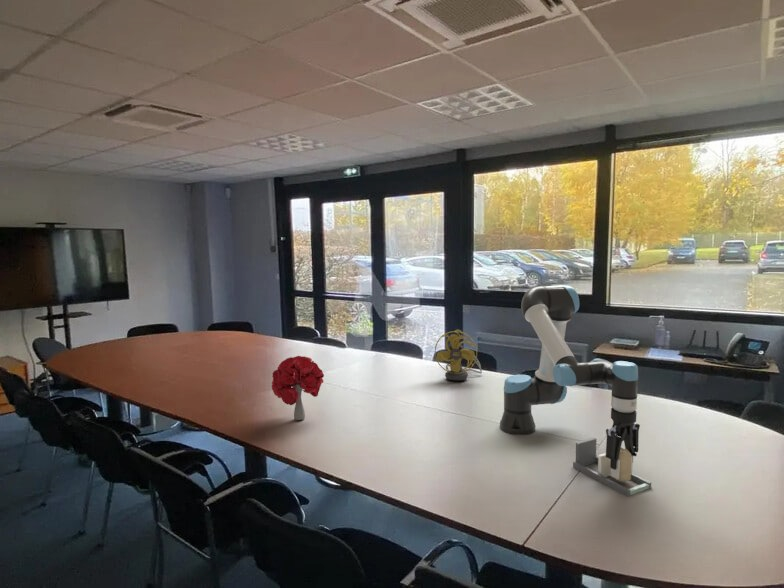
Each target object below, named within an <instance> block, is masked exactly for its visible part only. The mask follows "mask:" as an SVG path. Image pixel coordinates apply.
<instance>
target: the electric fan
mask: <svg viewBox="0 0 784 588" xmlns="http://www.w3.org/2000/svg"><path fill="white" fill-rule="evenodd" d="M450 333H452V334H450ZM454 333H456V334H454ZM449 334H450V335H449ZM460 334H461V335H460ZM444 337H445V338H447V339H446V340H445V348H446V349H445V350H442V351H441V350H440V351H438V352H437V353H436V351H437V345H438V343H439V342H440V340H441V339H442V338H444ZM468 338H470V340H471V341H472V342H471V341H469V340H467V339H468ZM460 340H463V341H461V342H460ZM462 344H469V346H471V347H473V348H475V351H476V353H475V351H474V350H471V349H468V348H465V347H464V345H462ZM475 354H476V355H475ZM434 356H435V362H437V364H438V365H439V367H440V368H441V369H442V370H444V371H445V375H444V376H445V378H446V379H447V380H449V381H464V380H466V379H467V378H468V376H469V375H468V374H469V373H468V371H470V372H475V373H476V374H477V373H478V374H480V375H481V374H482V373H483V371H482V366H481V363H480V361H479V359H478V347H477V344H476V342H475V341H474V340H473V338H472V337H471V336H470V335H469V334H468V333H465V332H464V331H462V330H460V329H456V330H454V331H448V332H446V333H444V334H442V335H441V336H440V338H438V339H437V341H436V343H435V346H434ZM463 359H465V360H467V363H466V367H464V368H463V366H462V363H461V362H462V360H463ZM444 361H446V362H448V363H447V364H446V366H445V368H444V367H443V366H442V365H441V364H440V362H444ZM475 364H476V365H477V366H478V368H479V370H476V369H473V368H472V367H474V365H475ZM470 366H471V367H470ZM449 368H450V369H449Z"/></svg>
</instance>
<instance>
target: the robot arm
mask: <svg viewBox="0 0 784 588" xmlns="http://www.w3.org/2000/svg"><path fill="white" fill-rule="evenodd" d="M520 305H521V307H520V308H521V313H522V315H523V317H524V319H525V320H526V321H527V322H528V323H530V324H531V326H532V328H533V329H534V332H535V333H536V334H537V338H538V339H539V340H540V342H541V351H540V357H539V358H540V359H539V368H538V369H537V370H535V372H534V377H531V375H527V374H513V375H510V376H507V377H506V378H505V380H504V384H503V412H502V416H501V419H500V422H499V429H500V430H501V431H502V432H504V433H507V434H510V435H515V436H526V435H531V434H533V433H535V432H536V423H535V420H534V417H533V414H532V406H536V405H537V406H540V405H548V404H549V405H554V404H557V403H562V402H563V401H564V400H565V399H566V396H567V394H568V387H572V386H582V385H595V384H605V385H607V386H609V387H611V398H610V399H611V400H610V402H611V403H610V406H611V408H610V420H612V423H613V424H612V426H611V428H610V429H609V428H607V429H606V430H605V433H606V443H605V445H606V446H605V453H606V457H607V458H609V459H611V463H610V467H611V476H610V477H612V478H613V477H614V478H613V479H615V478H616V479H617V481H619V480H618V479H619V475H620V460H618V458H619V453H620V449H621V448H622V444H623V442H624V449H627V450H628V451H629V452H630V453H631V455H632V456H631V475H632V473H633V464H634V457H637V453H638V452H639V434H640V433H639V430H640V427H641V426H640V425H641V424H639V423H636V422H637V413H638V412H637V411H636V410H637V407H638V404H637V403H638V401H637V399H638V384H639V367H638V364H636V363H634V362H629V361H624V360H617V361H614V362H611V361H609V360H606V359H603V358H594V359H592V360H590V361H588V362H586V361H585V362H578V360H577V359H576V357H575V355H574V354H573V352H572V350H571V349H570V347H569V345H568V344H567V342H566V341H565V337H566V328H567V323H568V322H570V321H571V320H572V314H575V313H577V312H578V311H579V308H580V297H579V294H578V292H577V291H576V289H575V288H574V287H572V286H571V285H562V284H560V285H559V284H558V285H543V286H542V285H540V286H533V287H532V288H530V289H529V290H527V291H526V292H525V293H524V295H523V297H522V300H521V304H520ZM616 479H615V480H616Z"/></svg>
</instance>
